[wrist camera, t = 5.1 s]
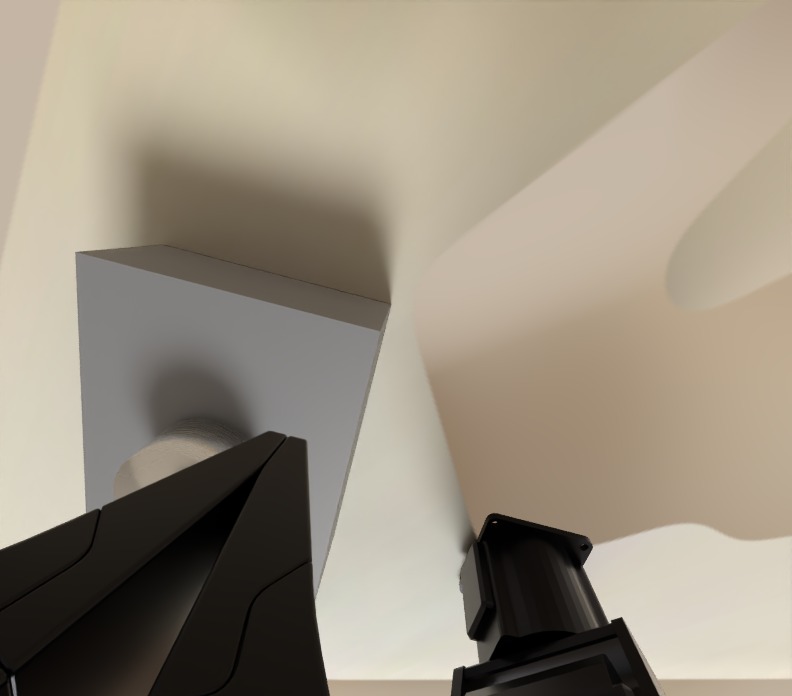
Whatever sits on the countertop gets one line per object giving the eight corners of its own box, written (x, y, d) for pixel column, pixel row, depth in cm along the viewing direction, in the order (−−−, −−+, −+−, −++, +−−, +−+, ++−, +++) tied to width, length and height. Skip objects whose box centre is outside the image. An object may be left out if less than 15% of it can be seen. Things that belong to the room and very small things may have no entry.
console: (391, 304, 19) (380, 331, 14) (333, 538, 24) (311, 614, 19) (163, 244, 19) (75, 252, 14) (154, 492, 24) (87, 557, 19)
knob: (304, 384, 21) (241, 469, 14) (291, 455, 22) (228, 565, 15) (220, 363, 21) (112, 437, 13) (213, 435, 22) (113, 535, 15)
